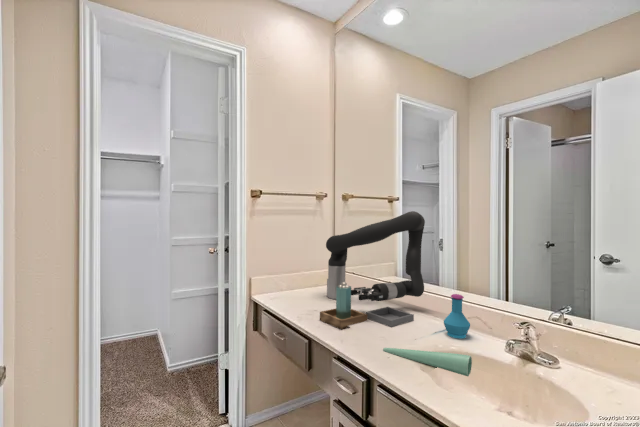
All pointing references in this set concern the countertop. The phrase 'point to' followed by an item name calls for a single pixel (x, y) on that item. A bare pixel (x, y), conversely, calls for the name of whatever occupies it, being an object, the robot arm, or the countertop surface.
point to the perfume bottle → (456, 319)
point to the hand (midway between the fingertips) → (353, 295)
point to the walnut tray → (331, 319)
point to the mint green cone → (437, 359)
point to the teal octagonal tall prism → (343, 301)
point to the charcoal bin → (390, 316)
